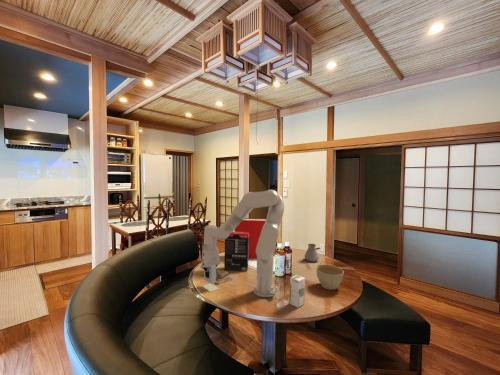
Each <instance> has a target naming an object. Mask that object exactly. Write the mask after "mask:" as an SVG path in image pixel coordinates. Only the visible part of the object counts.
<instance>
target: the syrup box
mask: <svg viewBox="0 0 500 375" xmlns="http://www.w3.org/2000/svg"><path fill="white" fill-rule="evenodd" d="M305 289H306V277H303V276H301V275H299V274H295V275H294V276H290V279H289V299H288V302H289V305H292V307H293V306H294V307H295V308H301V307H302V306H304V305H305V296H306V295H305V294H306V290H305Z"/></svg>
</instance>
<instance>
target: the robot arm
mask: <svg viewBox="0 0 500 375" xmlns="http://www.w3.org/2000/svg"><path fill="white" fill-rule="evenodd" d="M267 207H269V208H268V212H267V215H266V218H265V219H266V221H265V224H264V226H263V228H262V231H261V234H260V237H259V241H258V244H257V247H256V255H257V259H256V286H255V287H254V288H253V294H254V295H255V296H257V297H260V298H271V297H273V296H274V297H276V296H277V293H278V290H276V289H275V286H274V257H275V256H274V255H275V249H276V245H277V243H278V239H279V236H280V227H281V223H282V220H283V219H282V218H283V215H284V211H285V203H284V199H283V198H282V196H281V195H280V194H279V192H278V191H276V190H274V189H268V190H262V191H254V192H253V191H249V192H246V193H245V194H244V195H243V196H242V198H241V200H240V201H239V202H238V203H237V205H236V206H235V207H234V208H233V209H232V210H231V212H230V215H229V217H228V218H227V219H226V220H225V221H224V223H222V224H221V225H220V226H219V227H218V226H217V225H213V224H212V225H211V224H208V225H205V227H204V239H203V242H204V244H203V245H202V248H203V250H202V254H201V264H200V266H199V268H200V269H202V270H203V271H204V270H205V277H207V278H209V271H208V270H209V267H210V266H214V265H216V268H217V267H218V265H220V263H221V262H220V251H219V247H218V240H220V241H225V239H226V238H227V237H228V236H229V235H230V234H231V233H232V232H234V231H235V228H236V227H237V226H238V225H239V223H240V222H242V221H243V220H244V219H245V218H247V216H248V215H249V214H250V213H251V212H252V210H253V209H256V208H257V209H260V208H267ZM204 266H205V267H204Z"/></svg>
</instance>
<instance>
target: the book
mask: <svg viewBox="0 0 500 375" xmlns="http://www.w3.org/2000/svg"><path fill="white" fill-rule="evenodd" d="M265 221H266V218H255V217H254V218H253V217H252V218H247V217H245V219H244V220H243V221H242V222H240V223H239V225H238V226H237V227H236V228H235V229H234V232H249V250H248V259H252V258H257V255H256V247H257V244H258V241H259V237H260V234H261V231H262V228H263V226H264V224H265Z"/></svg>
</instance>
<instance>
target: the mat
mask: <svg viewBox="0 0 500 375" xmlns="http://www.w3.org/2000/svg"><path fill="white" fill-rule="evenodd" d="M201 287H202V288H203V289H205V290H206V291H207V292H209V293H212V292H214V291H217V290H219V287H217V286H215V285H214V283H212V284H211V283H209V282H208V283H206V284H204V285H202V286H201Z"/></svg>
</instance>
